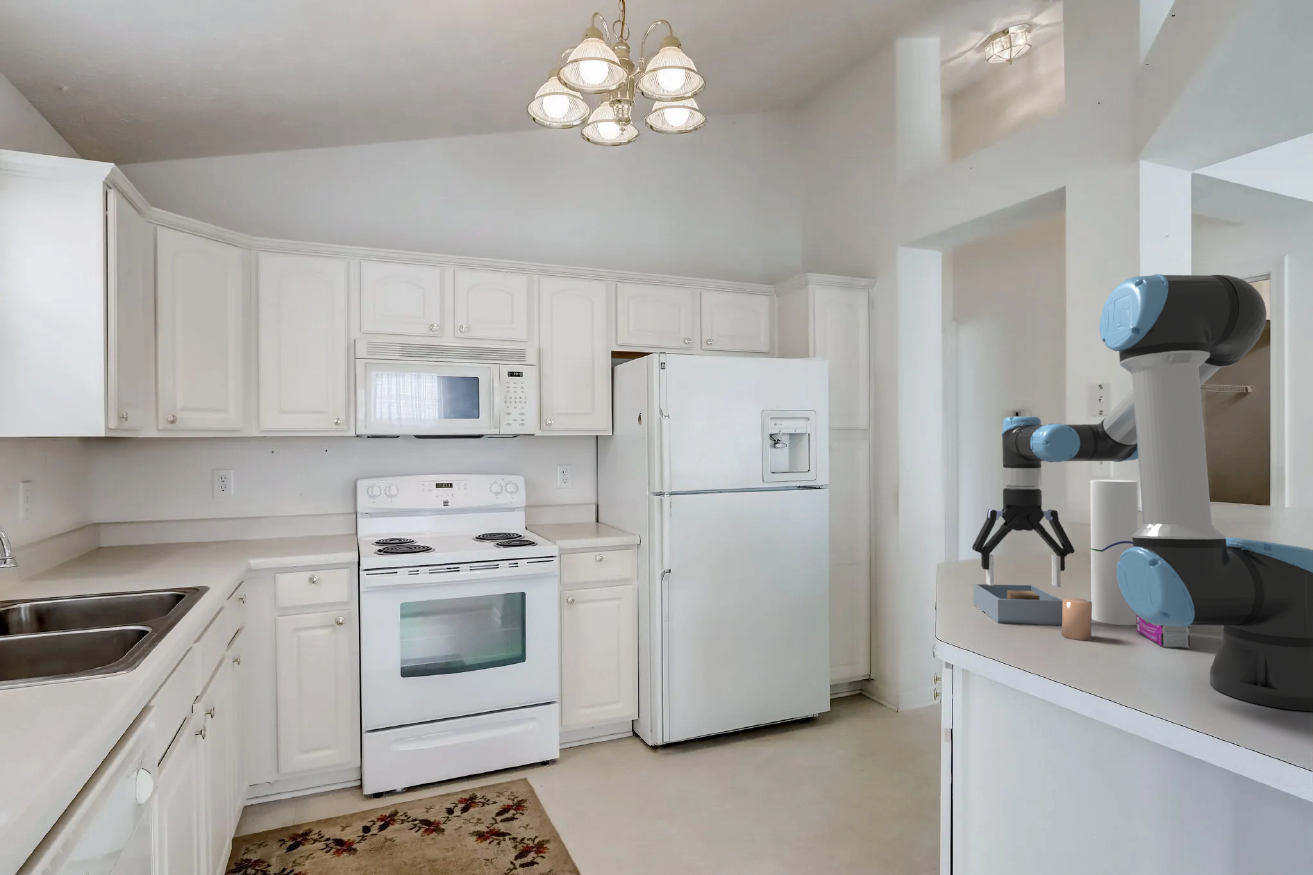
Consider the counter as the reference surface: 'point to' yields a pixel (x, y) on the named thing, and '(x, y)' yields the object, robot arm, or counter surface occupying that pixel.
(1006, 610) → the tote
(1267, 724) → the counter surface
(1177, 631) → the candy bar box
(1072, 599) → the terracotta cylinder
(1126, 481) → the container
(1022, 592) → the walnut cube
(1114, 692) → the counter surface
